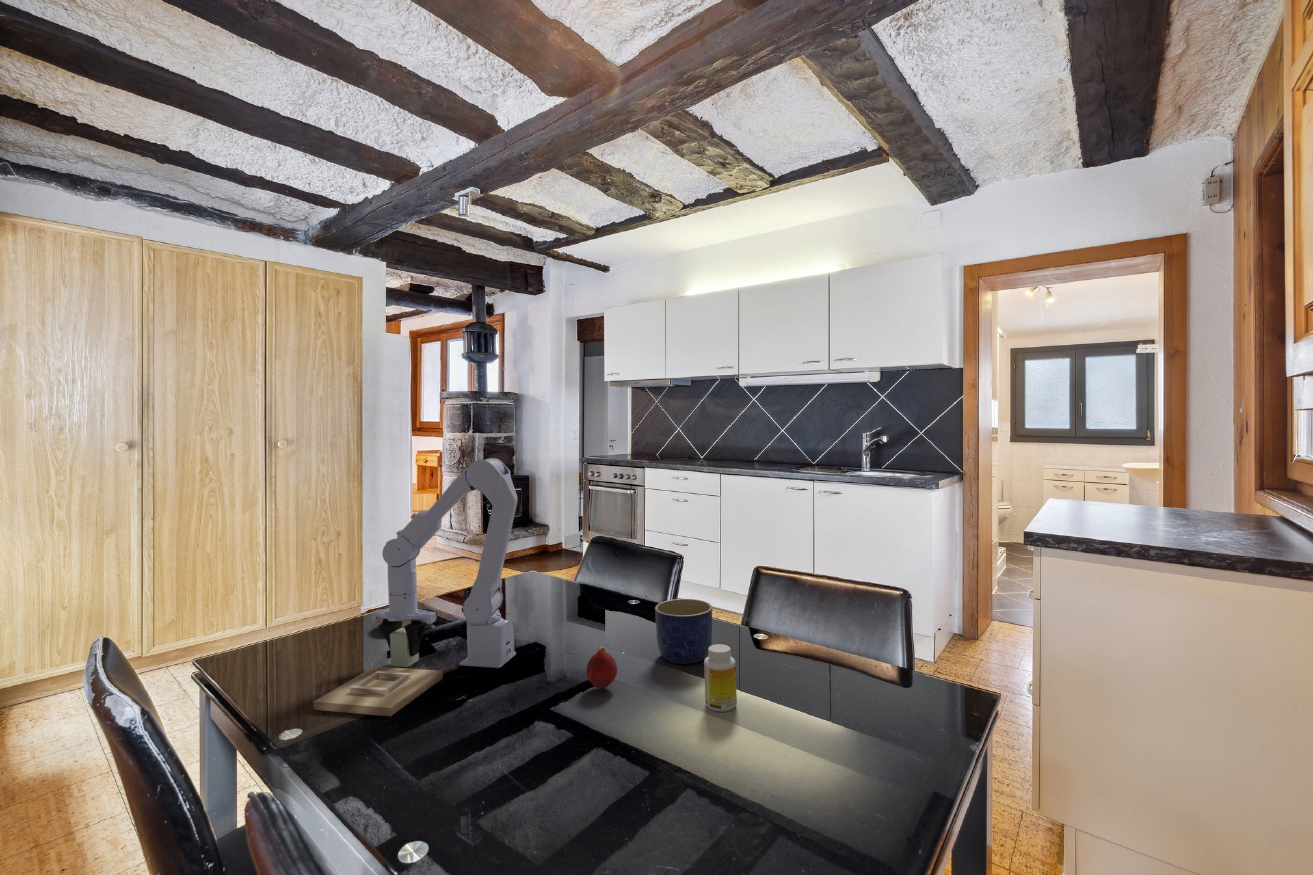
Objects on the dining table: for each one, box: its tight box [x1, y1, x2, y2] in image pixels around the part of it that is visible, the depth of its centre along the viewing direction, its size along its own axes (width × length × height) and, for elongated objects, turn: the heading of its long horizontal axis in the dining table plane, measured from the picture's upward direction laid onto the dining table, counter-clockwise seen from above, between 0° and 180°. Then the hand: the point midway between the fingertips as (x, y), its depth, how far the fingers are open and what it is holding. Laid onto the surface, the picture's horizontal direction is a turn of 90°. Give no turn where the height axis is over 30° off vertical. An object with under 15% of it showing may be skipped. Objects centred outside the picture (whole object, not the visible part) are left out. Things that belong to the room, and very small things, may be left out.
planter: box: [654, 598, 713, 665], centre depth 125 cm, size 12×12×11 cm
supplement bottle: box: [703, 643, 738, 713], centre depth 102 cm, size 6×6×10 cm
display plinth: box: [312, 666, 444, 717], centre depth 111 cm, size 16×16×2 cm
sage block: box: [389, 628, 420, 668], centre depth 126 cm, size 4×4×7 cm
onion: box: [586, 646, 618, 691], centre depth 110 cm, size 6×6×8 cm
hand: (404, 654), depth 126 cm, fingers closed on sage block, 4 cm apart
